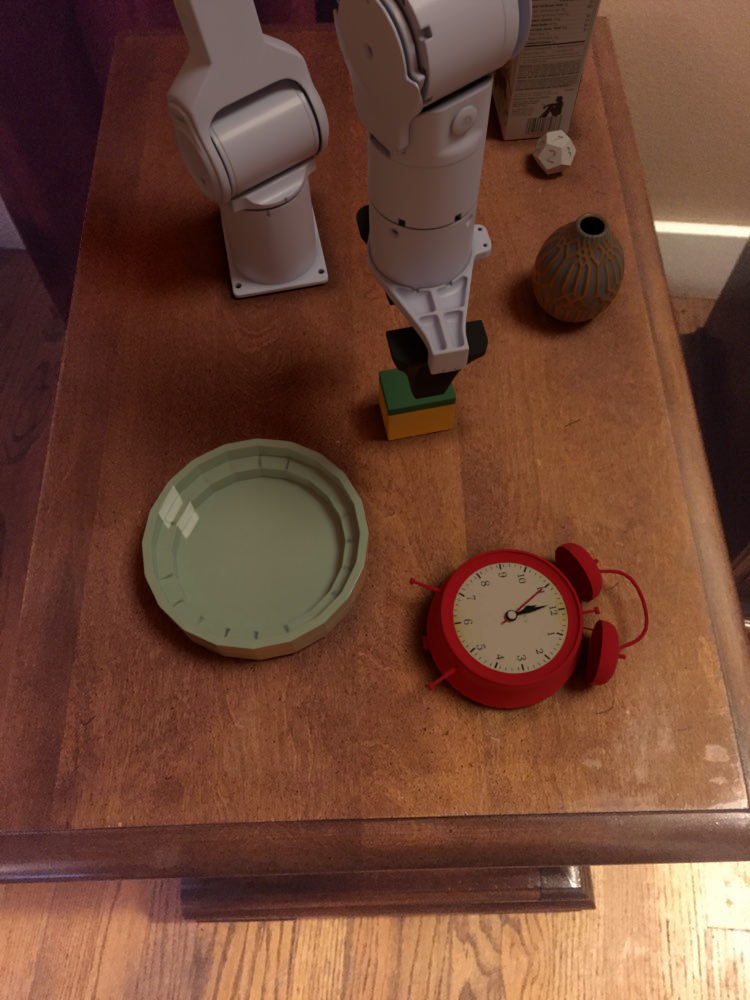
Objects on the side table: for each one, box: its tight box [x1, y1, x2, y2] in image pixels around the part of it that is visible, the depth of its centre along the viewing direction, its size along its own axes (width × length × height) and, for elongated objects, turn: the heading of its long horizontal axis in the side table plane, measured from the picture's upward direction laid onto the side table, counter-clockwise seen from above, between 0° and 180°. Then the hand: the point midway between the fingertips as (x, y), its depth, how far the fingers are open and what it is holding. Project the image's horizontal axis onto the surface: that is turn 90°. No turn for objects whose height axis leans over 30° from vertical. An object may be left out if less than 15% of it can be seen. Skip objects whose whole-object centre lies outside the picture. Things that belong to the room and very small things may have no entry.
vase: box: [532, 212, 626, 323], centre depth 63 cm, size 7×7×9 cm
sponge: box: [378, 367, 457, 441], centre depth 61 cm, size 5×3×4 cm
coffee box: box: [492, 0, 602, 141], centre depth 70 cm, size 9×6×16 cm
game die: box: [532, 130, 577, 175], centre depth 73 cm, size 4×4×3 cm
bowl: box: [141, 437, 371, 661], centre depth 57 cm, size 15×15×4 cm
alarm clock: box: [408, 542, 650, 709], centre depth 54 cm, size 10×6×15 cm
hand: (415, 344), depth 55 cm, fingers open, 7 cm apart
